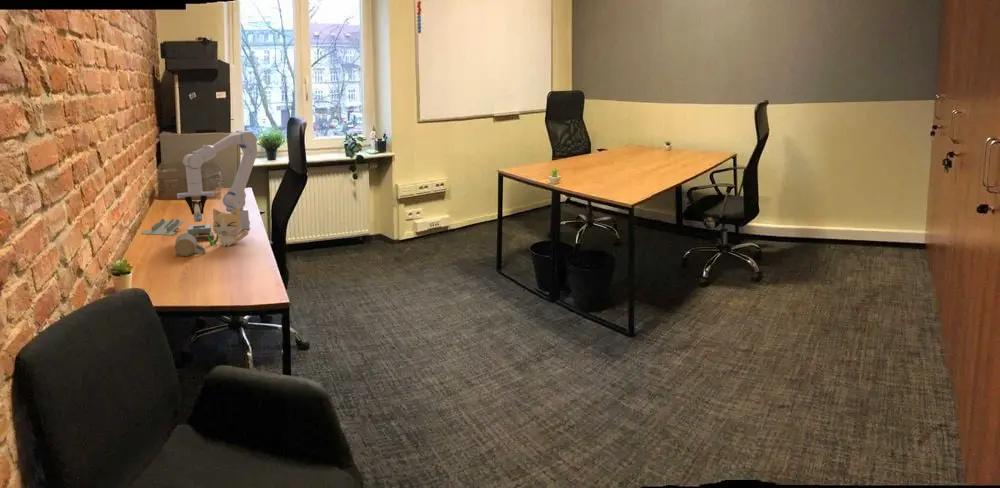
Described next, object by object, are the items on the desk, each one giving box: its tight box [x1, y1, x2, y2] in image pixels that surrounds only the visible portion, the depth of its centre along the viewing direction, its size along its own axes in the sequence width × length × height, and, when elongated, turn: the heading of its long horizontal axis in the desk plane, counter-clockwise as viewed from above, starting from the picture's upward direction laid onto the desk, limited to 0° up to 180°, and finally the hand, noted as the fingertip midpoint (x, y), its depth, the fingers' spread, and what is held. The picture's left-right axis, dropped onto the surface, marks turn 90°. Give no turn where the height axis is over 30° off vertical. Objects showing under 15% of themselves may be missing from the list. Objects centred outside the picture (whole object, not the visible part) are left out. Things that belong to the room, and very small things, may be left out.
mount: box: [195, 231, 214, 242], centre depth 295 cm, size 7×7×2 cm
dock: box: [186, 223, 212, 237], centre depth 302 cm, size 9×8×4 cm
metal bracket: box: [141, 218, 184, 237], centre depth 307 cm, size 14×6×15 cm
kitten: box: [207, 208, 249, 247], centre depth 284 cm, size 15×10×15 cm
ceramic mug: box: [174, 232, 206, 257], centre depth 270 cm, size 11×8×8 cm
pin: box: [192, 199, 203, 223], centre depth 299 cm, size 3×3×9 cm
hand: (197, 213), depth 300 cm, fingers closed on pin, 3 cm apart
